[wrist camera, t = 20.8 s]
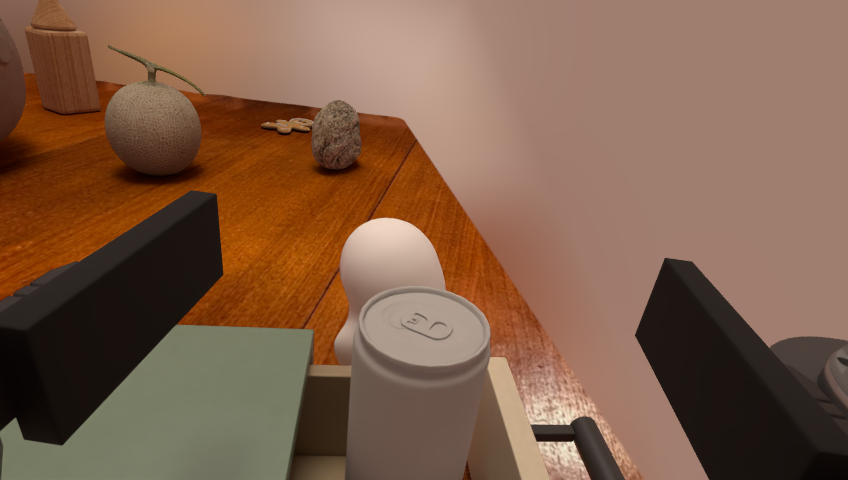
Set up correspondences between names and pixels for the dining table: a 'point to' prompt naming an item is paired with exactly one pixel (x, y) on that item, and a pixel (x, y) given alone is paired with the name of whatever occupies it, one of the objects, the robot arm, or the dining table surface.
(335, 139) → the stone
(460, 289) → the dining table surface
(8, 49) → the clay pot
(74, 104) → the decorative item
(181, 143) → the fruit
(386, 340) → the beverage can
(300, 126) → the cookie
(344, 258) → the figurine
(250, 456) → the cabinet
